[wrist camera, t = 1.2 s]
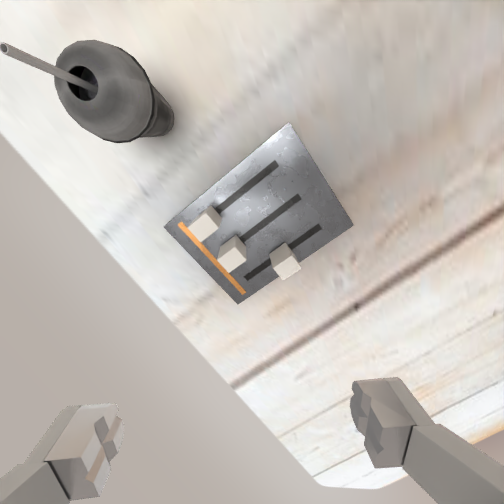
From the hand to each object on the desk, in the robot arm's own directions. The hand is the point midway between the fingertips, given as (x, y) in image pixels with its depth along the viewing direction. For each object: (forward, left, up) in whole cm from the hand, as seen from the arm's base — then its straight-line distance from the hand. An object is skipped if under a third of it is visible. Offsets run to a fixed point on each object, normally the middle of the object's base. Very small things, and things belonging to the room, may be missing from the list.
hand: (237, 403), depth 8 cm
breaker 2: (+4, +3, -28) cm, 28 cm away
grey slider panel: (-1, +3, -30) cm, 30 cm away
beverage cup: (+1, -17, -30) cm, 35 cm away
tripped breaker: (-1, +8, -28) cm, 29 cm away
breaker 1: (+4, -3, -28) cm, 28 cm away
